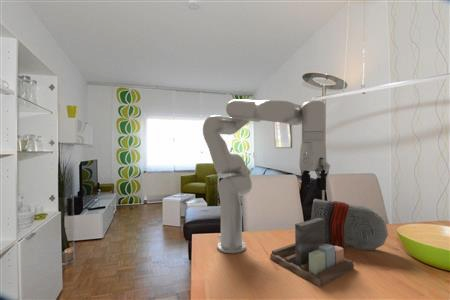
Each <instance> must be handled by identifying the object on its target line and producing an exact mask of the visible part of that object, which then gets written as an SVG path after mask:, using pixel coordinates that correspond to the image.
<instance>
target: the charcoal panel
mask: <svg viewBox="0 0 450 300" xmlns="http://www.w3.org/2000/svg"><path fill="white" fill-rule="evenodd" d="M294 225H295V228H294V230H295V231H294V232H295V233H294V236H295V237H294V239H295V241H294V243H295V253H294V254H295V256H296V265H297V266H299V267H300V266H301V265H303V264H306V263H308V262H309V253H311V252H313V251H316V250H319V246H321V245H324V244H326V242H325V219H322V218H316V219H313V220H311V219H310V220H306V221H302V222H298V223H294Z"/></svg>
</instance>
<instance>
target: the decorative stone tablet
mask: <svg viewBox="0 0 450 300" xmlns="http://www.w3.org/2000/svg"><path fill="white" fill-rule="evenodd" d="M310 215H311V217H310V220H313V219H316V218H322V219H325V243H328V244H330V245H333V246H339V247H341V248H344V247H351V248H353V249H355V250H358V251H359V250H360V251H374V250H376V249H378V248H380V247H383V246H384V245H385V244H386V240H387V238H388V236H389V232H388V227H387V223H386V222H385V220H384V218H383V217H382V216H381V215H380V214H379V213H377V212H376V211H375V210H374V209H372V208H369V207H365V206H362V205H355V204H349V203H346V202H341V201H336V200H334V201H329V200H325V199H324V200H323V199H318V198H314V199H313V202H312V207H311V214H310Z"/></svg>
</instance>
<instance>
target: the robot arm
mask: <svg viewBox="0 0 450 300" xmlns="http://www.w3.org/2000/svg"><path fill="white" fill-rule="evenodd" d="M225 111H226V113H227V116H224V115H220V114H219V115H217V114H214V115H212V114H211V115H209V116H208V117H207V118H206V119H204V120H205V121H204V123H203V125H202V135H203V140H204V141H205V143H206V145H207V148H208V151H209V154H210V157H211V160H212V163H213V167H214V170H215V171H216V173H217V174H219V175H229V176H225V177H223V178H222V179H221V180H220V181H218V186H217V190H218V191H217V192H218V195H219V196H218V197H219V203H220V204H219V206H220V210H219V211H220V234H218V238H219V240H220V241H219V242H218V243H217V250H218V251H219V252H221V253H225V254H239V253H242V252H243V251H245V250H246V249H247V247H246V243H245V242H244V241H243V206H242V202H241V199H240V197H241V196H245V195H247V194H249V193H250V192H251V191H252V187H253V183H252V179H251V177H250V173H249V170H248V168H247V165H246V162H245V160H244V158H243V157H242V156H241V155H239V154H237V153H230V151H229V148H228V145H227V143H226V141H225V140H224V138H223V137H222V136H221V135H228V136H231V135H234V134H236V133H237V132H238V131H240V130H241V129H242V128H244V127H245V126H246V125H247V124H248V123H249V122H256V123H257V122H258V123H260V122H261V121H263V122H265V121H266V122H273V123H280V124H287V125H291V126H299V125H301V144H300V151H299V170H300V174H301V175H300V177H301V179H300V180H301V186H310V185H311V174H310V172H315V174H316V176H317V177H316V178H315V187H316V188H315V190H316V191H326V190H327V178H328V175H329V171H330V168H331V164H329V163H328V160H327V148H326V147H327V146H326V103H325V101H322V100H310V101H305V102H304V103H303V104H302V105H301V104H296V103H294V102H291V101H288V100H276V99H275V100H273V99H263V100H256V99H236V98H235V99H232V100H230V101H229V102H228V103H227V105H226V106H225Z"/></svg>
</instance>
